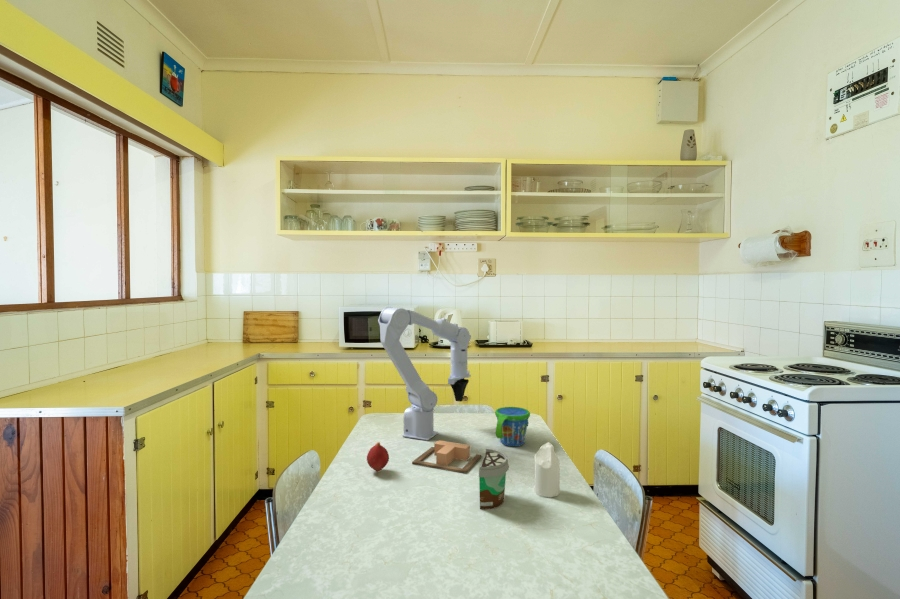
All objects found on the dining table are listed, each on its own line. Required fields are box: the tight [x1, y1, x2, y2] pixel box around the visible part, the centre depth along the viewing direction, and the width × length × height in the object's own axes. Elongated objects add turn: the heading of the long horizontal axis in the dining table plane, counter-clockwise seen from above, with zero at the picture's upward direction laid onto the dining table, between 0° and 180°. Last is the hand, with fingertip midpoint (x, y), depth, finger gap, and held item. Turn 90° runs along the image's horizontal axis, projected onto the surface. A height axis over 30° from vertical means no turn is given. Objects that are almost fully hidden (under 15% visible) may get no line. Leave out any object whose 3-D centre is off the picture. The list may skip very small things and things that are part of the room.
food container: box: [478, 448, 510, 510], centre depth 108 cm, size 12×6×10 cm, turn 168°
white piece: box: [534, 441, 561, 498], centre depth 112 cm, size 6×12×6 cm
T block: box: [433, 440, 471, 466], centre depth 132 cm, size 9×10×4 cm
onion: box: [366, 441, 390, 473], centre depth 124 cm, size 6×6×8 cm
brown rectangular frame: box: [411, 446, 483, 475], centre depth 132 cm, size 16×12×1 cm
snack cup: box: [494, 406, 531, 447], centre depth 145 cm, size 16×10×10 cm
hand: (459, 400), depth 160 cm, fingers closed
